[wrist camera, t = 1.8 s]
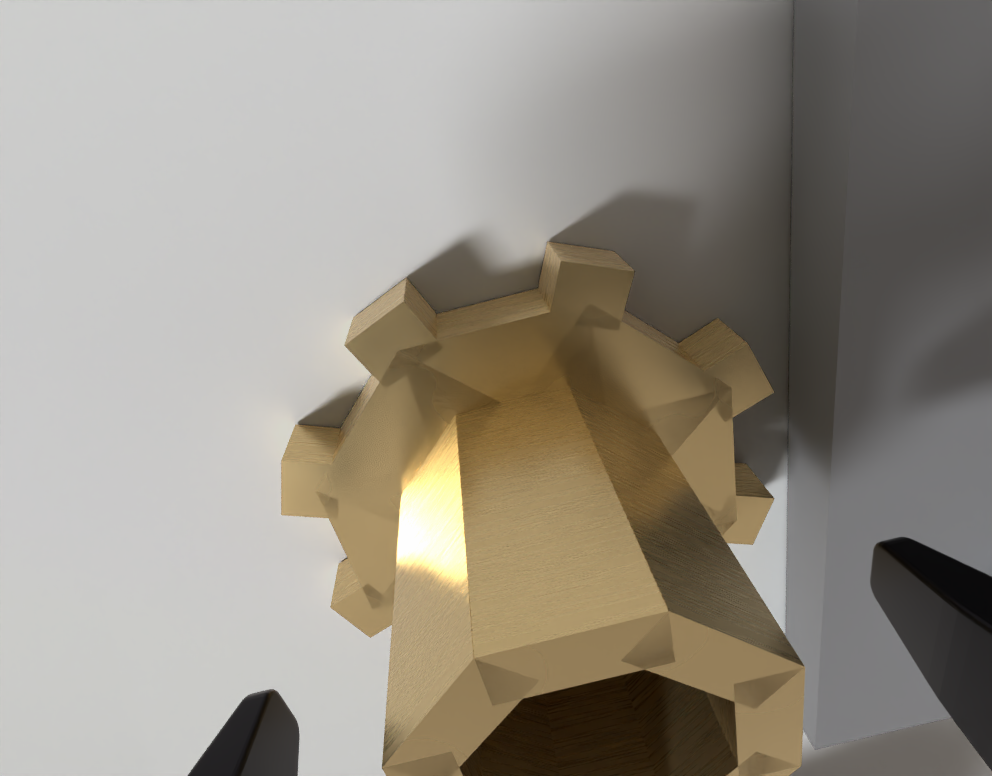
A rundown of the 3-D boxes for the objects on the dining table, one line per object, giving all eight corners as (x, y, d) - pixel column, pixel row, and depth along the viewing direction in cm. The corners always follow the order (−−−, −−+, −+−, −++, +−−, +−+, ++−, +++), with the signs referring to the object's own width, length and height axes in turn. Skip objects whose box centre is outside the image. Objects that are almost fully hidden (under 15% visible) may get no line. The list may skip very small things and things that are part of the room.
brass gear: (738, 192, 10) (1082, 322, 5) (749, 571, 14) (935, 861, 9) (220, 325, 10) (-7, 593, 5) (386, 659, 15) (360, 993, 9)
